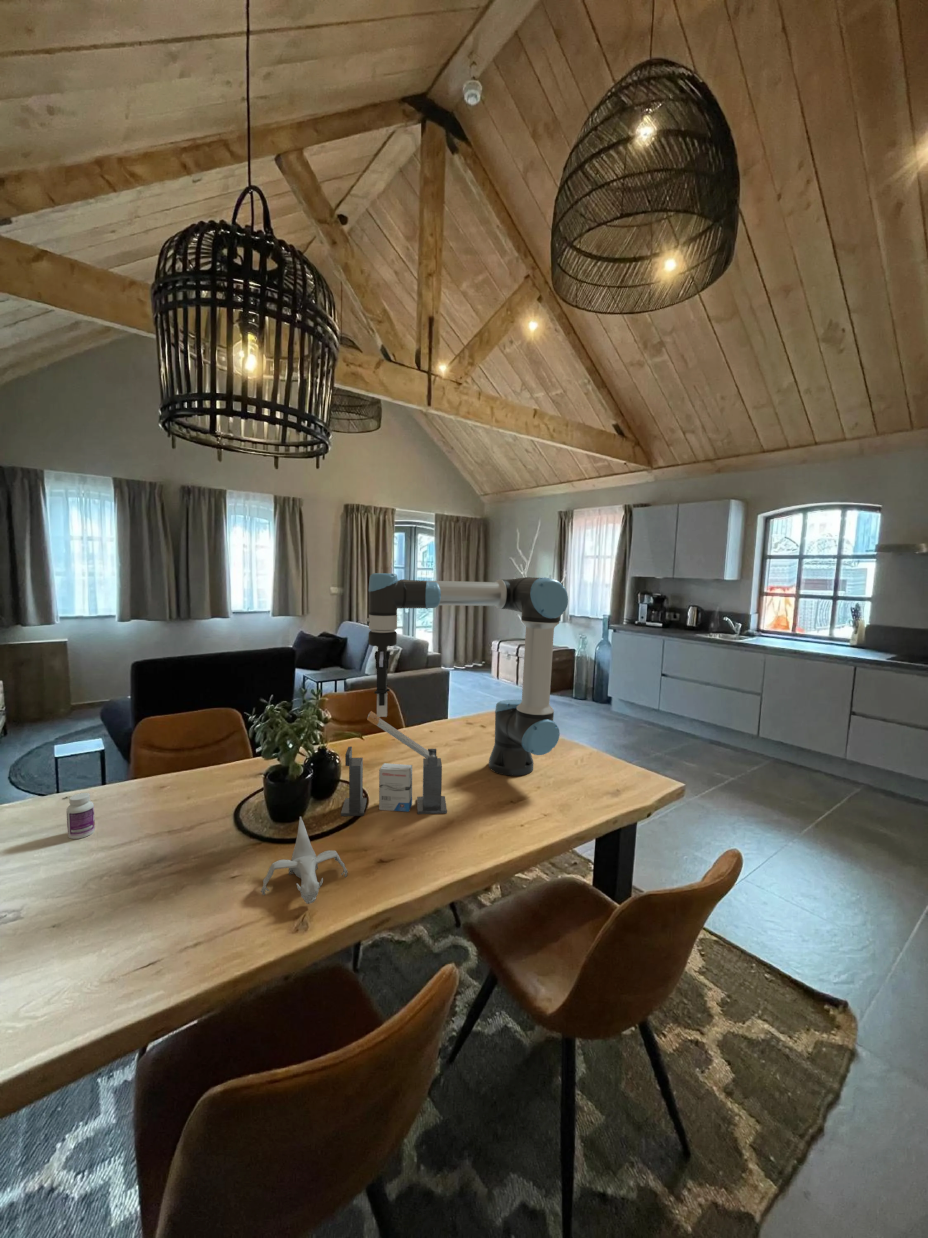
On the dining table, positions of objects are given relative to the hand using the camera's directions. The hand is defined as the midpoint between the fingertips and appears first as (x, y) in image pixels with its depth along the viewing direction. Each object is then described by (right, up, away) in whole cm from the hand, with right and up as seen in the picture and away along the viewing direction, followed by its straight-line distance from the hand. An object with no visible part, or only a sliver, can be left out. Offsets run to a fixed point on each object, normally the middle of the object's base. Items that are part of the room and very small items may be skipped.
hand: (381, 715), depth 138 cm
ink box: (+3, -26, +3) cm, 27 cm away
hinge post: (+13, -26, +4) cm, 30 cm away
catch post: (-7, -26, +2) cm, 27 cm away
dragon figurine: (-11, -30, -31) cm, 45 cm away
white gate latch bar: (+5, -7, +1) cm, 9 cm away
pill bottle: (-71, -26, -15) cm, 77 cm away
